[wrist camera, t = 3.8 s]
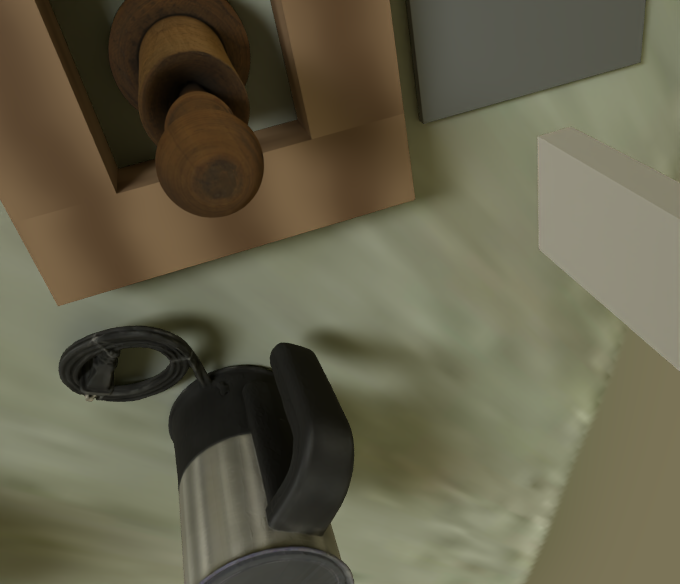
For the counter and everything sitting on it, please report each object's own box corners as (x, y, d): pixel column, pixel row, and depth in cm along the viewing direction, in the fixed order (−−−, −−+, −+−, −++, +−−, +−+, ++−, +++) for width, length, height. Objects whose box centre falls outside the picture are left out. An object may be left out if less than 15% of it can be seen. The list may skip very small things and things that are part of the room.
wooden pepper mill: (158, -57, 29) (180, -9, 14) (270, 34, 32) (382, 149, 18) (84, 64, 31) (35, 217, 16) (197, 139, 34) (243, 323, 19)
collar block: (64, 273, 36) (57, 306, 33) (-154, -148, 25) (-192, -154, 22) (394, 177, 38) (415, 199, 36) (332, -248, 27) (355, -265, 24)
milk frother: (288, 461, 49) (339, 649, 36) (65, 474, 44) (37, 698, 31) (320, 302, 42) (395, 468, 30) (59, 297, 37) (21, 494, 25)
